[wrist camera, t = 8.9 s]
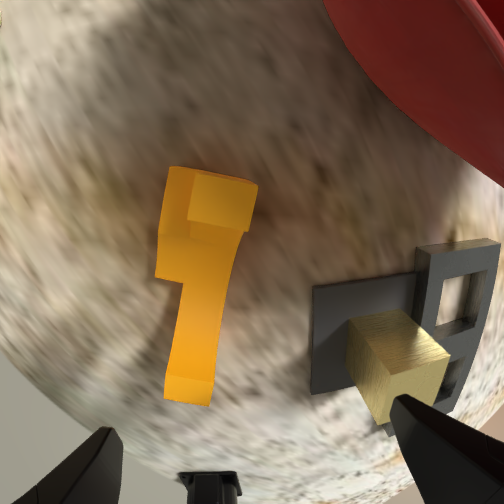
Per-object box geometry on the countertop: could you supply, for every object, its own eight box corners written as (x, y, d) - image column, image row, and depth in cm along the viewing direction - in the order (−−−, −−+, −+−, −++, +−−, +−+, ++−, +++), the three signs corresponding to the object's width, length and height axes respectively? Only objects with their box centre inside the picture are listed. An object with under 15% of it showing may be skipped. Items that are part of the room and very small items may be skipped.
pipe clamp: (179, 166, 17) (154, 165, 11) (248, 179, 18) (258, 186, 12) (155, 333, 20) (133, 391, 14) (212, 345, 21) (209, 406, 15)
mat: (409, 367, 23) (411, 370, 23) (310, 392, 23) (311, 395, 23) (428, 269, 21) (430, 270, 20) (312, 286, 20) (314, 289, 20)
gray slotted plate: (444, 401, 26) (452, 411, 24) (381, 424, 26) (388, 437, 24) (486, 237, 20) (500, 243, 19) (416, 247, 20) (431, 254, 18)
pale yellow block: (392, 354, 22) (432, 405, 15) (344, 365, 22) (377, 425, 15) (399, 308, 21) (450, 355, 14) (348, 318, 21) (391, 375, 14)
